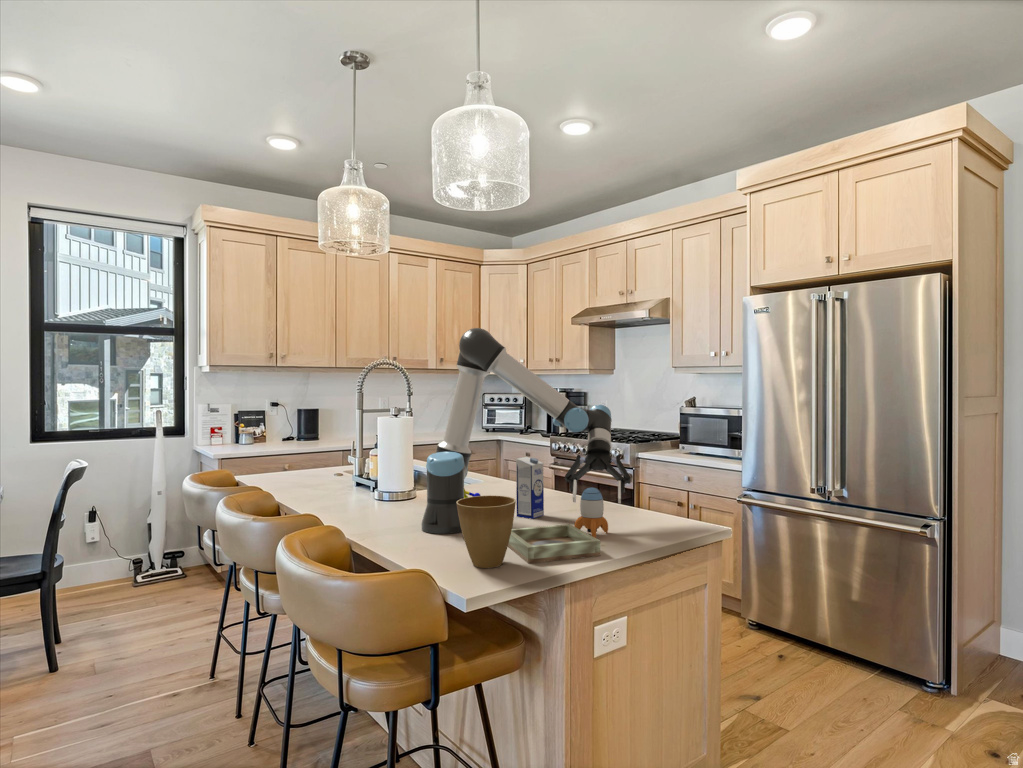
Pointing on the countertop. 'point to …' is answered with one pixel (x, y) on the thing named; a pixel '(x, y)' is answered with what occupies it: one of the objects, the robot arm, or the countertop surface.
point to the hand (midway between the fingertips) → (596, 500)
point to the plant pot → (486, 527)
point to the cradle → (552, 543)
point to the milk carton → (529, 488)
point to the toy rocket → (592, 512)
